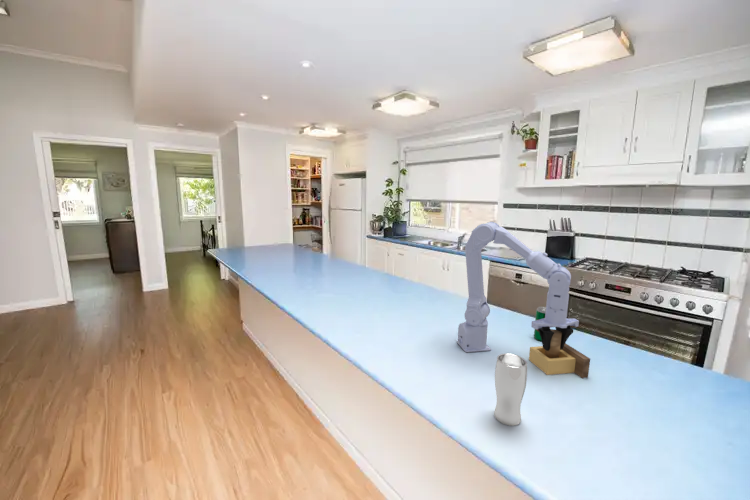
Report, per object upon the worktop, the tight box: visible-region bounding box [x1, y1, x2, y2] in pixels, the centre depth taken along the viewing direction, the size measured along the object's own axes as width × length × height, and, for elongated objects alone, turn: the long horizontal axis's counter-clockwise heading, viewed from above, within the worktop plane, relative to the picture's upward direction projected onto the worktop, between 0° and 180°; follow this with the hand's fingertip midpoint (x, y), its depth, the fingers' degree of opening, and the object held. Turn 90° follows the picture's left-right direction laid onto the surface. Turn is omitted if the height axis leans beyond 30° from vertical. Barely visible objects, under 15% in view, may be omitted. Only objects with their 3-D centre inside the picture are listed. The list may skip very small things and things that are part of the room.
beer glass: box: [493, 353, 528, 427], centre depth 77 cm, size 7×7×15 cm
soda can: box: [533, 306, 546, 342], centre depth 120 cm, size 5×5×12 cm
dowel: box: [545, 328, 562, 358], centre depth 101 cm, size 4×4×8 cm
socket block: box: [528, 345, 576, 376], centre depth 101 cm, size 9×9×4 cm
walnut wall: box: [562, 343, 591, 379], centre depth 102 cm, size 2×15×6 cm, turn 8°
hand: (552, 348), depth 101 cm, fingers closed on dowel, 4 cm apart
